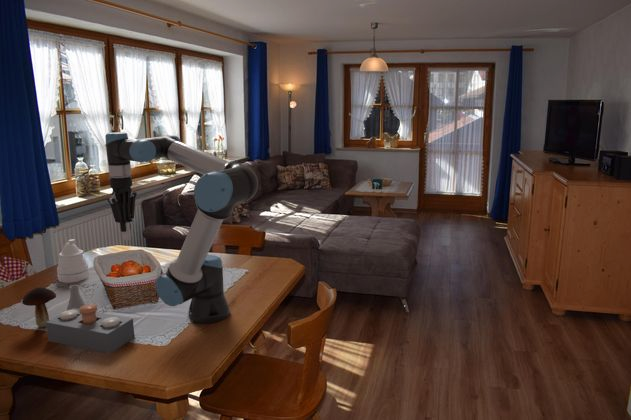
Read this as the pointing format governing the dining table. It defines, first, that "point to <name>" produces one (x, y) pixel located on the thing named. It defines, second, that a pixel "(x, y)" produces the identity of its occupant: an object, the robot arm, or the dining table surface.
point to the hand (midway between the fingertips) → (126, 239)
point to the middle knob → (88, 313)
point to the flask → (75, 298)
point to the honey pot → (72, 264)
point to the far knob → (68, 315)
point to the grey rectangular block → (91, 332)
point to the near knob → (110, 322)
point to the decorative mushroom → (39, 303)
